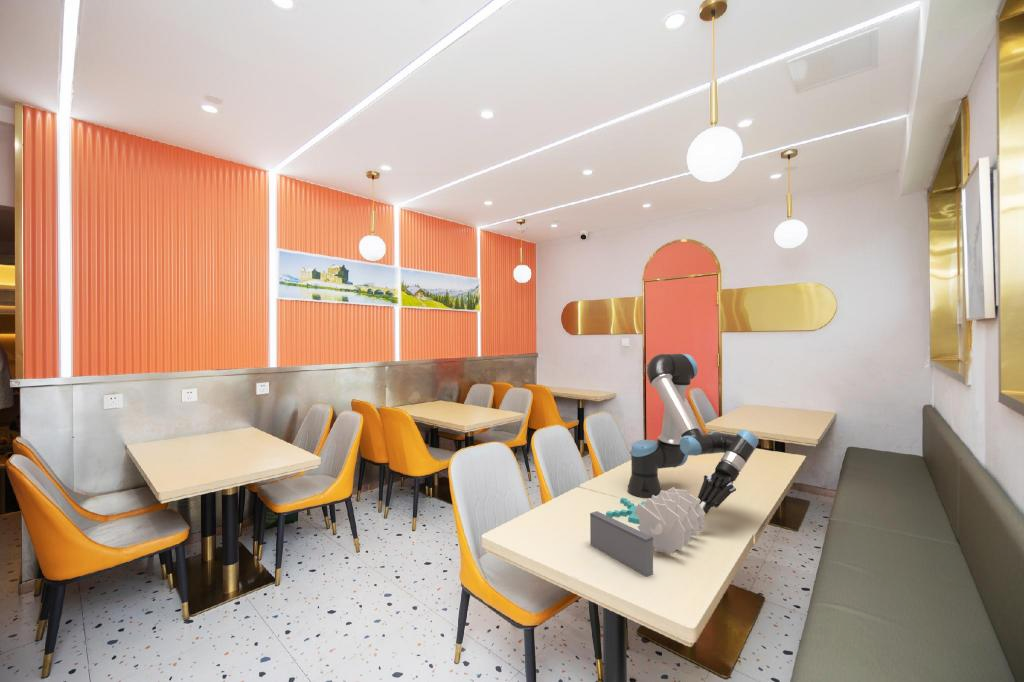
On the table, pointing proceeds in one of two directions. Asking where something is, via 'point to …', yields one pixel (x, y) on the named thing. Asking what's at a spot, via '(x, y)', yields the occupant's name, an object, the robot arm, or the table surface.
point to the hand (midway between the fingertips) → (696, 518)
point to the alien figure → (626, 511)
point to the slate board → (622, 542)
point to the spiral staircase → (670, 519)
